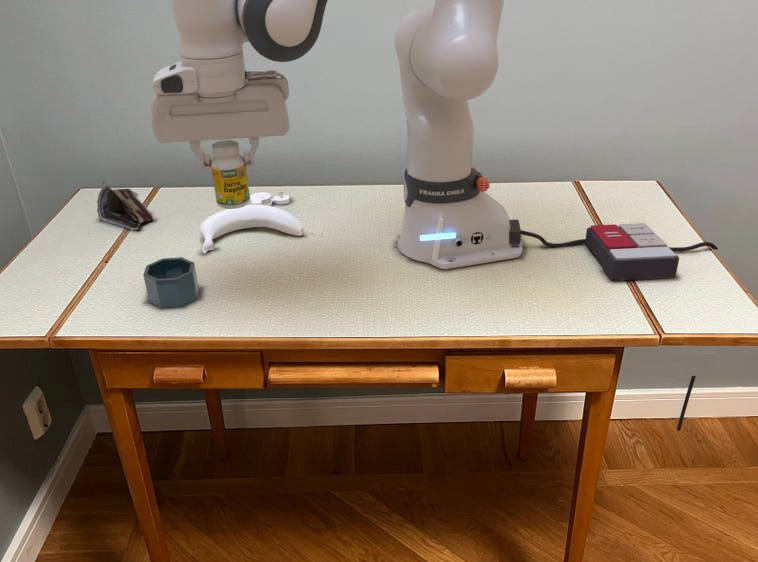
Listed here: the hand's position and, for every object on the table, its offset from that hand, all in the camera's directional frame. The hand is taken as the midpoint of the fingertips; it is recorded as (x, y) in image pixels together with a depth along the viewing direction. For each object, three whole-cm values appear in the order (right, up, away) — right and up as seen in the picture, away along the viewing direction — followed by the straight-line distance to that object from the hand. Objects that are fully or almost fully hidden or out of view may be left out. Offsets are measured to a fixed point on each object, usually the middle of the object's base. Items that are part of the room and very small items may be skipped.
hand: (228, 166), depth 115 cm
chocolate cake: (-26, -2, +34) cm, 42 cm away
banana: (0, -7, +25) cm, 26 cm away
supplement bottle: (0, -5, +4) cm, 6 cm away
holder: (-10, -19, +8) cm, 23 cm away
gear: (0, +1, +37) cm, 37 cm away
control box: (+67, -13, +15) cm, 70 cm away
